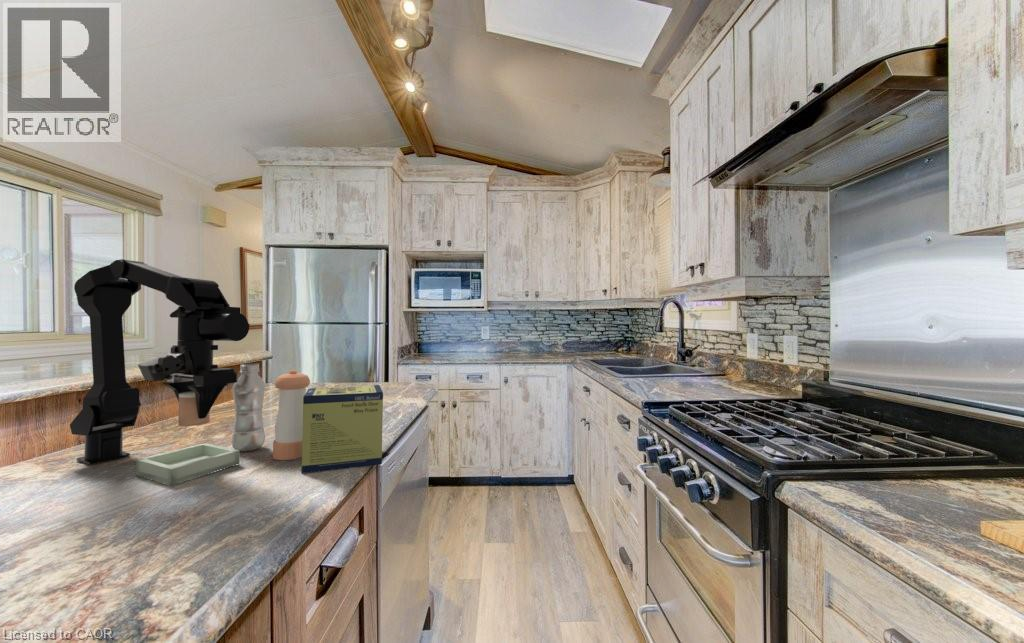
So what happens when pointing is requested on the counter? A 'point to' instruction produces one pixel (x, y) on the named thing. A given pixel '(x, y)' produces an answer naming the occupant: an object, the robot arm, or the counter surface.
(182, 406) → the spice pot
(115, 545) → the counter surface
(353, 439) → the protein box
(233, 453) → the tray
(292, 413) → the pepper shaker
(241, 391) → the plastic bottle
